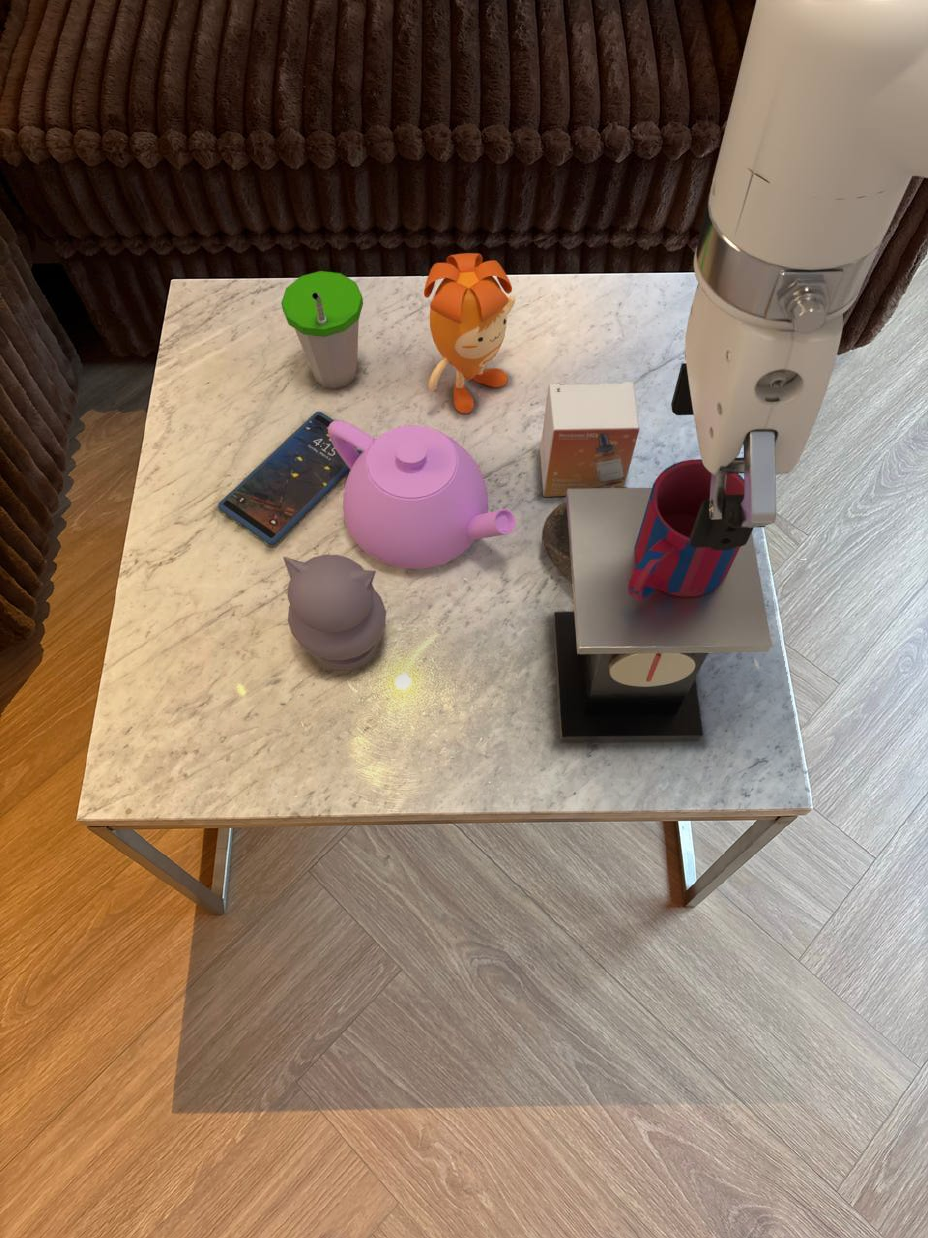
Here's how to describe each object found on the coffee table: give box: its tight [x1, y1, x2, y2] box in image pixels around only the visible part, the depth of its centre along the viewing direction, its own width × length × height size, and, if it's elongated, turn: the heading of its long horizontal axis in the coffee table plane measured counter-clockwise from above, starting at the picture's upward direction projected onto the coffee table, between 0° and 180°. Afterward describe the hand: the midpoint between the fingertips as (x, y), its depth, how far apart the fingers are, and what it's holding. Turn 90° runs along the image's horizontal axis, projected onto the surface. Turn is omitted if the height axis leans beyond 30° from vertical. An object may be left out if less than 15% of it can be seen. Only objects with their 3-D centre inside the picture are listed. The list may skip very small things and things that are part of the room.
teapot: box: [328, 419, 517, 570], centre depth 87 cm, size 14×20×11 cm
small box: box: [539, 381, 641, 498], centre depth 90 cm, size 8×6×10 cm
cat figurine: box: [282, 554, 387, 672], centre depth 81 cm, size 8×8×12 cm
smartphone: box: [217, 411, 363, 547], centre depth 94 cm, size 8×1×15 cm
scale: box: [552, 487, 773, 744], centre depth 75 cm, size 13×13×20 cm
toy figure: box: [423, 252, 517, 415], centre depth 93 cm, size 12×8×15 cm, turn 134°
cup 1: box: [280, 270, 364, 391], centre depth 94 cm, size 8×8×15 cm
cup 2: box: [628, 458, 744, 600], centre depth 63 cm, size 7×10×7 cm
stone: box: [541, 485, 628, 585], centre depth 88 cm, size 11×11×5 cm
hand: (706, 474), depth 57 cm, fingers open, 9 cm apart
